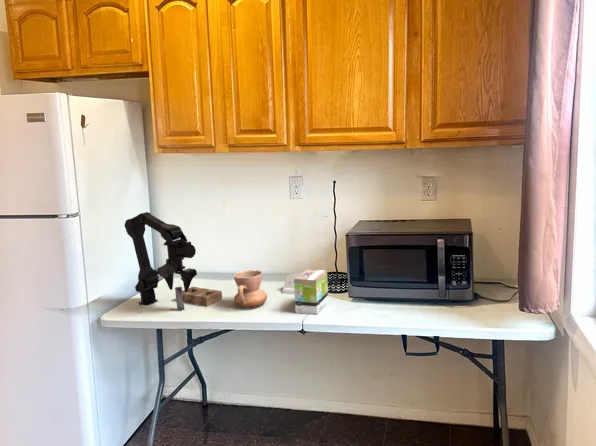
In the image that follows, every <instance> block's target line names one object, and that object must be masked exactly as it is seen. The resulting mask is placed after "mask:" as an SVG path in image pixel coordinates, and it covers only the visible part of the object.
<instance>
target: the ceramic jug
mask: <svg viewBox="0 0 596 446" xmlns="http://www.w3.org/2000/svg"><path fill="white" fill-rule="evenodd" d="M233 279H234V282H235V284H236V287H237V293H236V294H235V295H234V297H233V302H234V304H235V305H236V306H238V307H240V308H247V309H248V308H256V307H260V306H261V305H263V304H265V302H267V299H268V295H267V293H266V292H265V291H264V290H262V289H261V288H260V286H261V284H262V281H263V280H262V279H263V271H262V270H259V269H258V270H257V269H256V270H254V269H246V270H242V271H238V272H236V273H235V274H234V275H233Z"/></svg>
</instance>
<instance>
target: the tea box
mask: <svg viewBox="0 0 596 446" xmlns="http://www.w3.org/2000/svg"><path fill="white" fill-rule="evenodd" d="M300 273H301V274H300V275H298V276H297V277H296V278H295V279H294V289H295V294H294V304H295V305H294V307H295V308H294V309H295V314H305V315H307V314H309V315H310V314H311V315H318V313H319V312H321V310H323V308H325V307H326V306H327V304H328V303H329V289H328V287H329V284H328V270H327V269H326V270H325V269H322V270H321V269H305V270H303V271H302V272H300Z"/></svg>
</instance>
